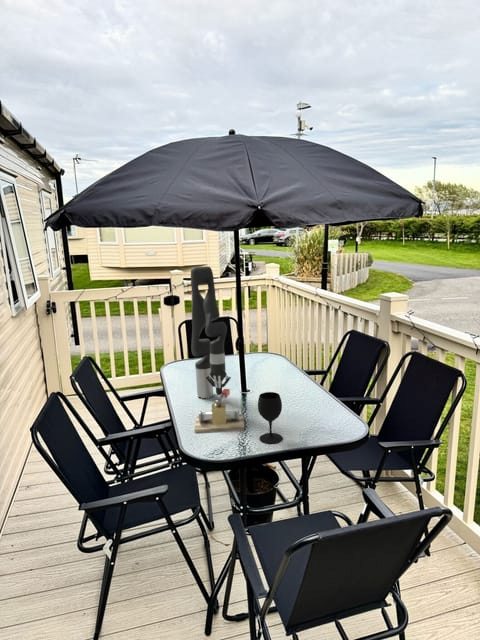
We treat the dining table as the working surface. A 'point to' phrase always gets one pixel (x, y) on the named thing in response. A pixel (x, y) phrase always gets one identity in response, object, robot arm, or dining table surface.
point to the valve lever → (222, 397)
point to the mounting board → (219, 425)
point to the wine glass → (270, 415)
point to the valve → (219, 415)
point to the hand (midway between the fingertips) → (219, 394)
